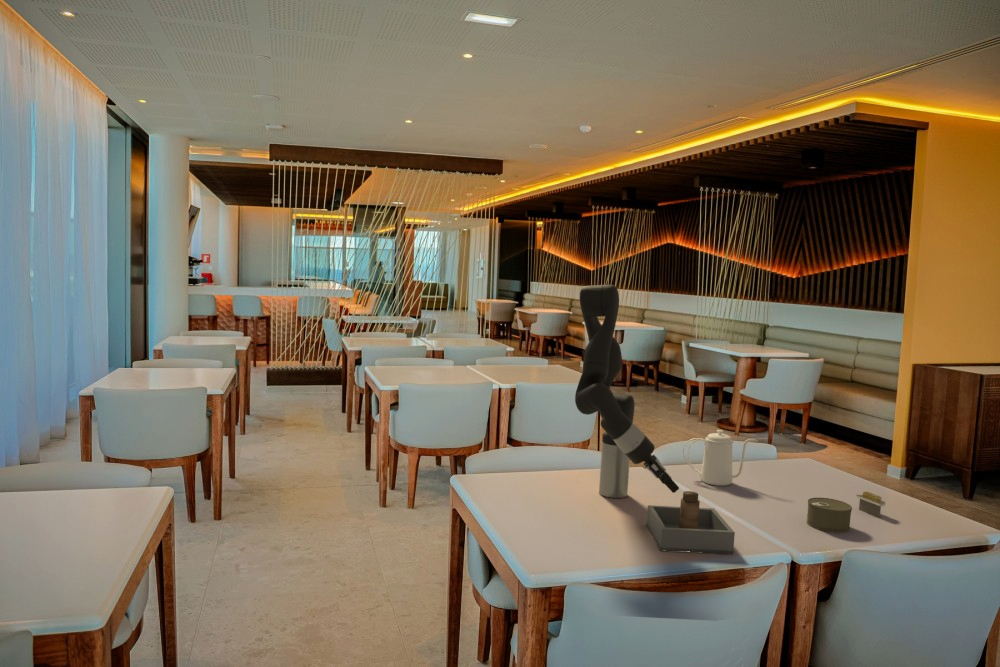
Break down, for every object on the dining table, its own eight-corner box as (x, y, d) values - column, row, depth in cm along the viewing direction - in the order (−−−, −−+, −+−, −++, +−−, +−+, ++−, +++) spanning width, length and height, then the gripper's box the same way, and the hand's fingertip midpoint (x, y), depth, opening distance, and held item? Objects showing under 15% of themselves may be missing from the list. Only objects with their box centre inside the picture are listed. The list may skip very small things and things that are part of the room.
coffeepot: (754, 491, 247) (759, 437, 245) (680, 481, 255) (683, 429, 253) (754, 483, 257) (758, 431, 256) (682, 473, 265) (686, 423, 264)
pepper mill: (676, 532, 201) (679, 490, 200) (694, 532, 201) (697, 490, 200) (680, 538, 196) (683, 495, 195) (699, 539, 196) (702, 496, 195)
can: (859, 533, 210) (861, 510, 210) (821, 533, 208) (823, 510, 208) (833, 519, 222) (835, 497, 221) (797, 519, 220) (799, 497, 219)
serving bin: (646, 525, 208) (647, 505, 208) (712, 528, 208) (714, 508, 207) (660, 551, 189) (662, 528, 189) (733, 554, 189) (734, 532, 188)
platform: (862, 504, 239) (864, 485, 239) (909, 523, 223) (911, 502, 222) (834, 507, 235) (836, 487, 235) (880, 526, 218) (882, 505, 218)
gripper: (648, 439, 189) (689, 484, 190) (638, 427, 203) (676, 469, 204) (627, 458, 189) (668, 503, 191) (618, 445, 204) (656, 486, 205)
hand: (672, 485), depth 197 cm, fingers open, 8 cm apart
